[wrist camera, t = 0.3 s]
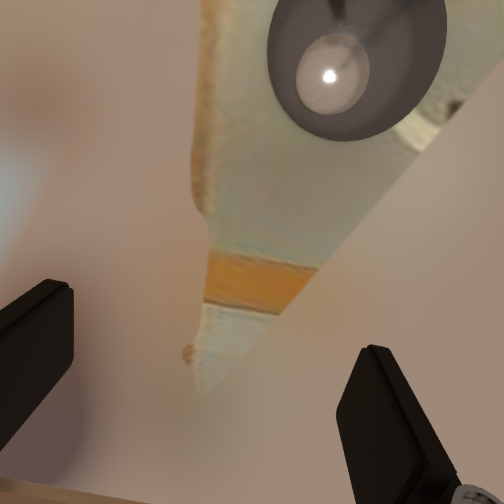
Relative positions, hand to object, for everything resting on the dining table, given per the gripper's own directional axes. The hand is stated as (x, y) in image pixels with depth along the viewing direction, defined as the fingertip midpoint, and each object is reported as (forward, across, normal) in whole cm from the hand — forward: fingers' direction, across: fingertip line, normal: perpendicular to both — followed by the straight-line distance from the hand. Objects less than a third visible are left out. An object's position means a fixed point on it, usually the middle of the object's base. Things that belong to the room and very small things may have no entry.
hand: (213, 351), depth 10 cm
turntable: (+27, -7, -15) cm, 32 cm away
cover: (+26, -5, -12) cm, 29 cm away
